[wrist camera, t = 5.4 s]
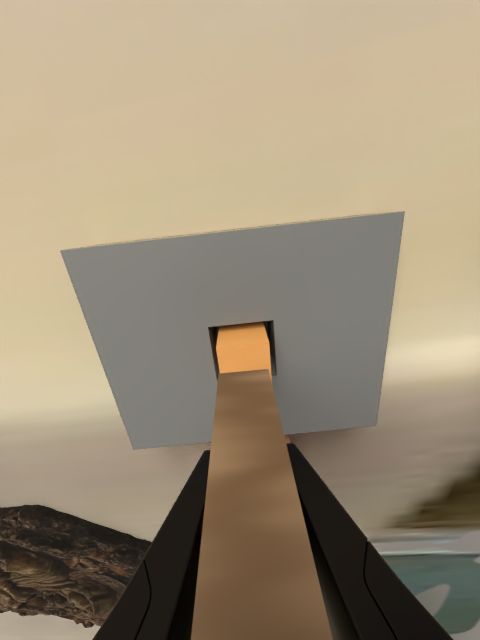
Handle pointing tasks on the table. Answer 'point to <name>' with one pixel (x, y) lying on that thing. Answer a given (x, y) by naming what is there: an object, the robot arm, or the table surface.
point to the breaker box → (243, 320)
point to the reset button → (243, 348)
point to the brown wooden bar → (254, 526)
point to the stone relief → (63, 564)
